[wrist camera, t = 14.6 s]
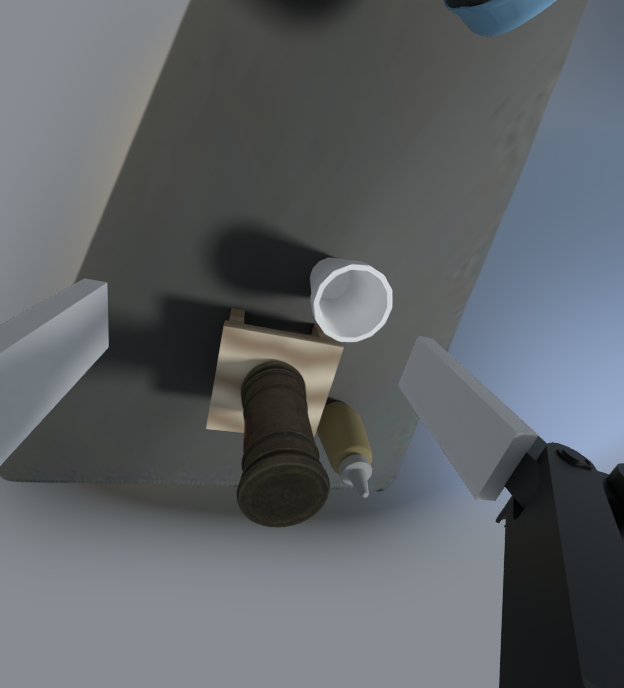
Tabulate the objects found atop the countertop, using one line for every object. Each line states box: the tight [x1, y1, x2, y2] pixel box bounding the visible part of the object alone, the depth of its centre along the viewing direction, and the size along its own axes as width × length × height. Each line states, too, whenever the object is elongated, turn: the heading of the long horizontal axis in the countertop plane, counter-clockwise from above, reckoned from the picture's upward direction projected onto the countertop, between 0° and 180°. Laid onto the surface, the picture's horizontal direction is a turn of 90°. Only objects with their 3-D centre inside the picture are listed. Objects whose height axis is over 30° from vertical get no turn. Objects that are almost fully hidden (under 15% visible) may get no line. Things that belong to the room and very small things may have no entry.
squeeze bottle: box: [317, 401, 372, 498], centre depth 52 cm, size 8×8×18 cm
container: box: [237, 361, 330, 527], centre depth 37 cm, size 9×9×18 cm
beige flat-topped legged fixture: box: [206, 308, 344, 437], centre depth 49 cm, size 16×16×9 cm
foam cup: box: [310, 258, 392, 342], centre depth 44 cm, size 10×9×13 cm
